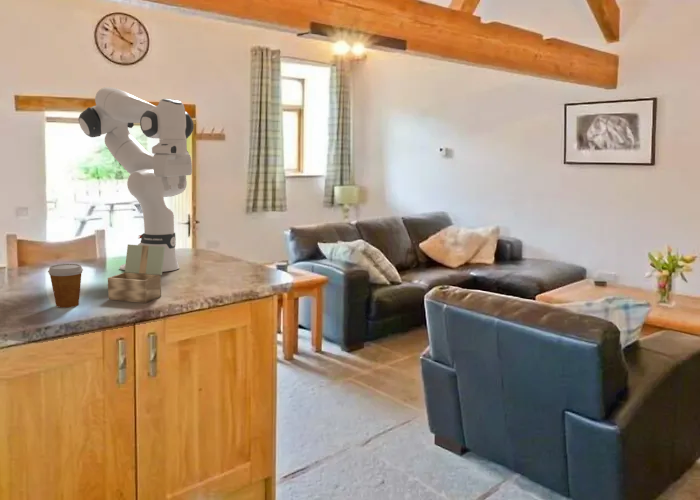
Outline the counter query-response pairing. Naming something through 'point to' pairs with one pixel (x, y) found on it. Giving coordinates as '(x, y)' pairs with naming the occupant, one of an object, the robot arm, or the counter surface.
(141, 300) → the box
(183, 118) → the robot arm
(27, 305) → the counter surface
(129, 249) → the lid
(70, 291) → the disposable coffee cup
